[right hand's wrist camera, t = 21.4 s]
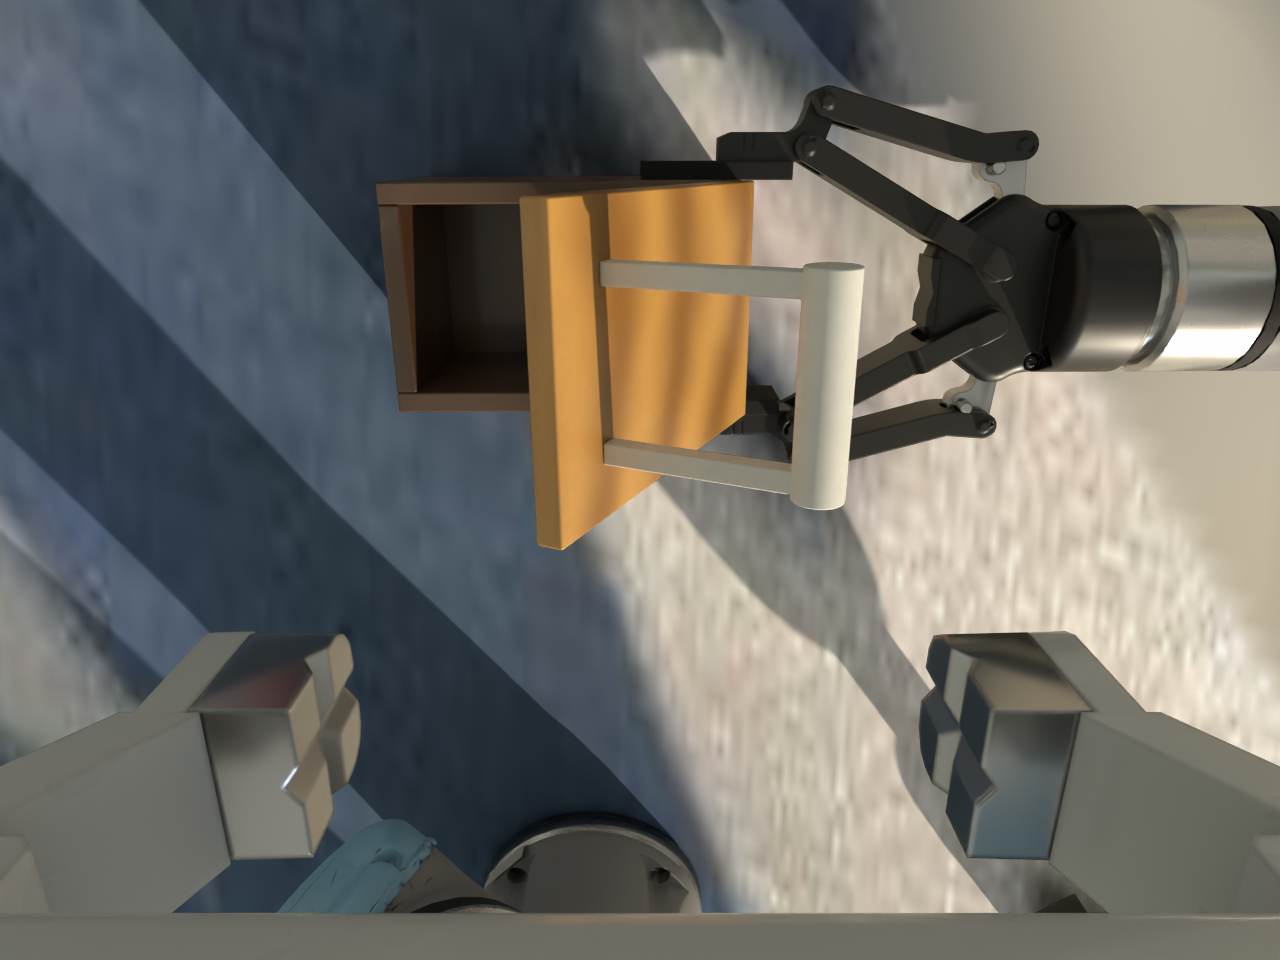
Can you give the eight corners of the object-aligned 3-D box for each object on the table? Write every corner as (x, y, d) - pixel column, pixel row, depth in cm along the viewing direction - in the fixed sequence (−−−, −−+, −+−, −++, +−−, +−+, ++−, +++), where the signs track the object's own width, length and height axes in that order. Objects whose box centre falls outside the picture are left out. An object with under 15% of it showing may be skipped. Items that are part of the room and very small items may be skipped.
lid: (535, 545, 25) (811, 605, 22) (518, 195, 22) (840, 201, 19) (726, 412, 39) (917, 436, 35) (733, 180, 35) (946, 181, 32)
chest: (442, 365, 48) (398, 412, 39) (426, 176, 44) (374, 181, 35) (717, 364, 48) (735, 410, 39) (722, 175, 44) (743, 179, 35)
